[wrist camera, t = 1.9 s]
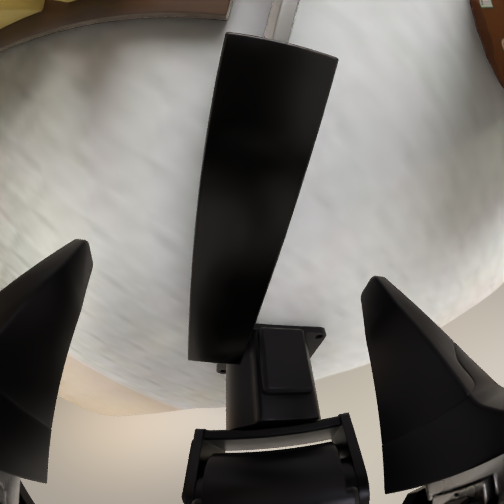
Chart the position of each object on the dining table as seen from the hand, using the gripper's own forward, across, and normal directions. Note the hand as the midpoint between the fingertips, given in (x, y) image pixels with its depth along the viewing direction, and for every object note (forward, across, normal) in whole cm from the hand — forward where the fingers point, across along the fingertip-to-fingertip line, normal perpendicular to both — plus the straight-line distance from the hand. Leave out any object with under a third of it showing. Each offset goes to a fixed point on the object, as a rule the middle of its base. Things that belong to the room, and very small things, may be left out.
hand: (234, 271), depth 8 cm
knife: (+4, 0, -5) cm, 6 cm away
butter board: (+4, +9, -13) cm, 16 cm away
